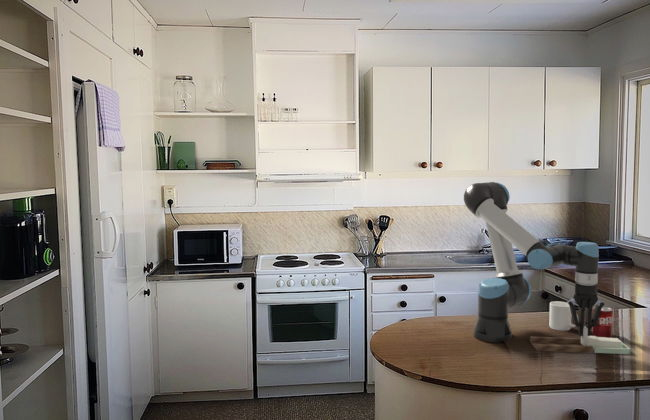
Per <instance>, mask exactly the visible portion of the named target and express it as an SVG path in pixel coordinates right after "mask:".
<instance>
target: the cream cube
mask: <svg viewBox="0 0 650 420" xmlns="http://www.w3.org/2000/svg"><path fill="white" fill-rule="evenodd" d="M607 339H609V340H610V348H622V343H623V341H621V340H620V339H619V338H618V337H611V338H607Z"/></svg>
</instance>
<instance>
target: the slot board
mask: <svg viewBox="0 0 650 420" xmlns="http://www.w3.org/2000/svg"><path fill="white" fill-rule="evenodd" d="M529 343H530V344H531V345H532V346H533V348H534V349H535V350H536V351H538V352H540V351H541V352H563V353H565V352H567V353H589V354H590V353H591V354H593V353H594V350H593V347H592V346H583V345H582V344H581V337H560V336H559V337H558V336H557V337H556V336H531V335H530V336H529Z"/></svg>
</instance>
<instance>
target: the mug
mask: <svg viewBox="0 0 650 420" xmlns="http://www.w3.org/2000/svg"><path fill="white" fill-rule="evenodd" d="M576 314H577V318H579V314H578V313H577V312H576ZM548 318H549V319H548V321H549V322H548V324H549V325H548V326H549V328H550V329H552V330H554V331H563V332H564V331H570V330H571V329H573V328H576V327H577V326H576V325H575V324H574V323H572V315H571V310H570V306H569V304H568V303H567V301H566V302H565V301H557V300H556V301H550V302H549V317H548Z"/></svg>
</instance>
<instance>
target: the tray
mask: <svg viewBox="0 0 650 420" xmlns="http://www.w3.org/2000/svg"><path fill="white" fill-rule="evenodd" d="M631 349H632V348H630V347H629V346H627V345H626V344H625V343H624V342H622V348H598V347H594V350H593V353H594V354H615V355H617V354H618V355H620V354H621V355H631V352H632V350H631Z"/></svg>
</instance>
